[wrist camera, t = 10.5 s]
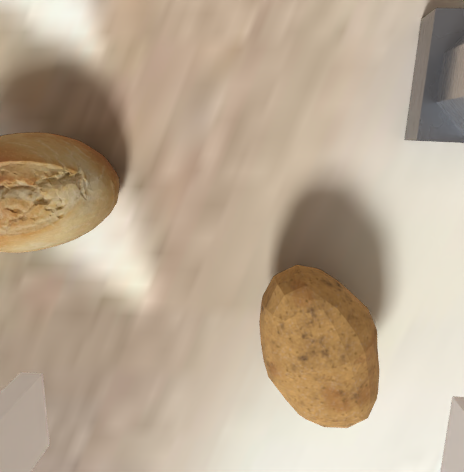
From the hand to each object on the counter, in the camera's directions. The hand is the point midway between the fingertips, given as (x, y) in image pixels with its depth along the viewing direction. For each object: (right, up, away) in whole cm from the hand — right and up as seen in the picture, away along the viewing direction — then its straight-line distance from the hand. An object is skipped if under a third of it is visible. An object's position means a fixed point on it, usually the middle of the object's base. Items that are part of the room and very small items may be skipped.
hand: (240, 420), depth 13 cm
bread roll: (-17, +10, +25) cm, 32 cm away
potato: (+7, -2, +25) cm, 26 cm away
